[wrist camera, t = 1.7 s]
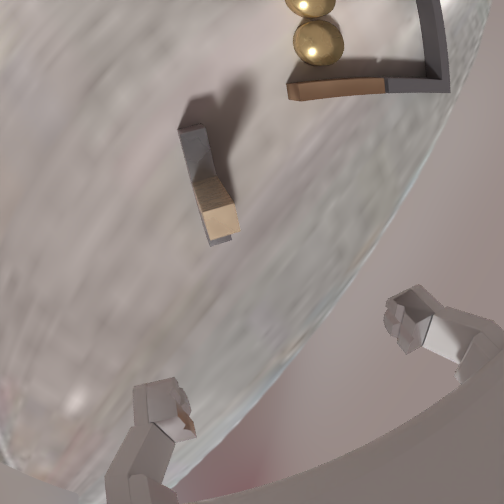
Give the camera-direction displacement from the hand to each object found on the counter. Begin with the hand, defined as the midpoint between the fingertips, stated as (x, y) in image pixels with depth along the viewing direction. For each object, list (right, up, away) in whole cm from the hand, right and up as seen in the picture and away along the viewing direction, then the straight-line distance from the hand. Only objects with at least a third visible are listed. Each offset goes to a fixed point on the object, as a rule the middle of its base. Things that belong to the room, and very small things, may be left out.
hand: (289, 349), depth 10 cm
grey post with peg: (-6, +10, +16) cm, 20 cm away
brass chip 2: (+4, +22, +12) cm, 26 cm away
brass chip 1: (+3, +26, +9) cm, 28 cm away
